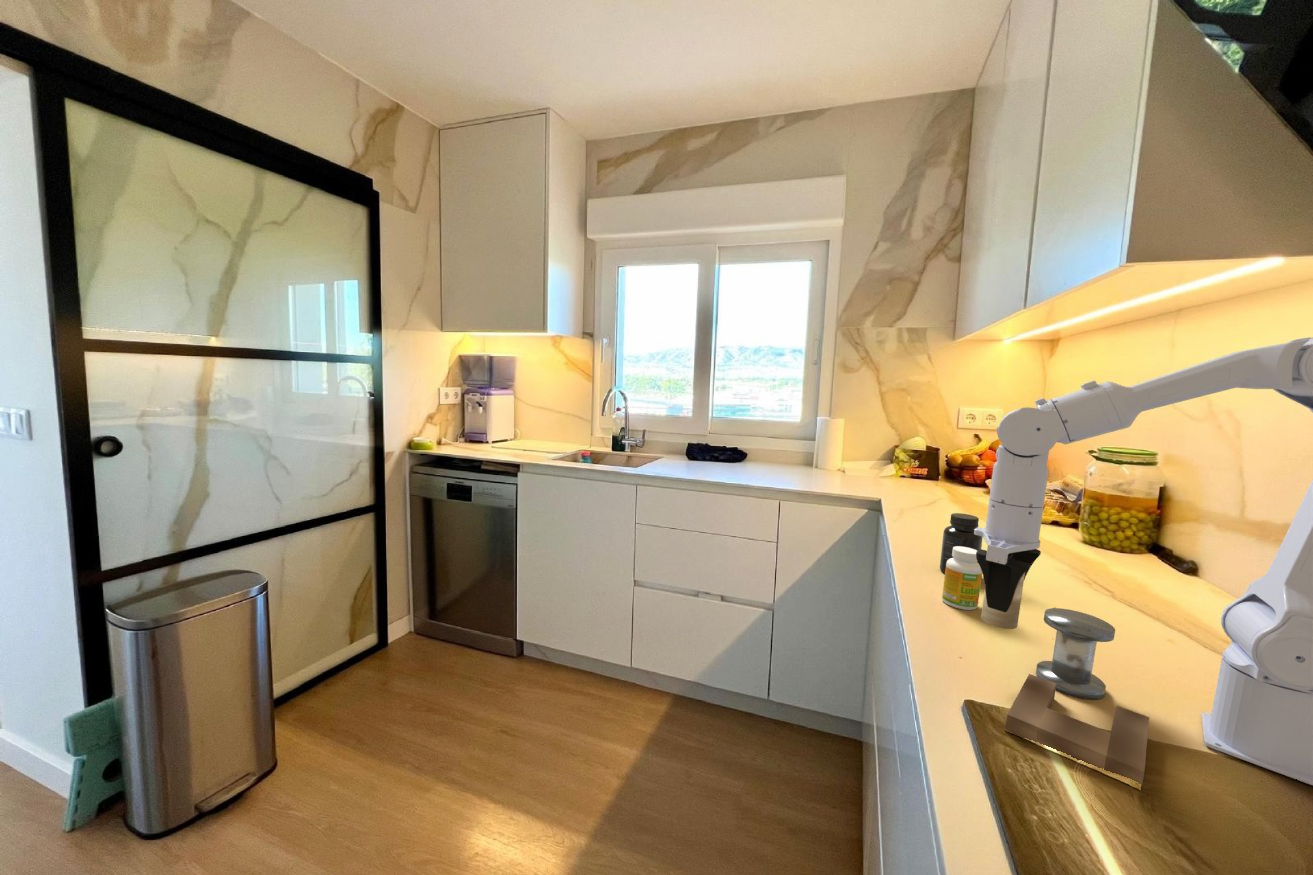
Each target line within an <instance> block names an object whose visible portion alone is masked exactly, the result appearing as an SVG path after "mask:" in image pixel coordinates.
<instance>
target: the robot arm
mask: <svg viewBox="0 0 1313 875" xmlns="http://www.w3.org/2000/svg"><path fill="white" fill-rule="evenodd" d="M1080 387H1081V389H1080V390H1079V389H1078V390H1076V391H1073V392H1069V393H1067V394H1063V395H1060V396H1057V397H1054V398H1050V399H1047V400H1046V398H1045V397H1041V398H1038V399H1035V400H1034V404H1035V406H1036V407H1031V406H1028V407H1020V408H1016V409H1013V410H1010V412H1008V413H1007V414H1005V415H1004V416H1002V419H1001V420H1000V422H999V423H998V426H997V427H996V435H997V437H998V438H997V439H998V440H999V442H1000V443H1001V444H999V445H998V448H997V449H996V453H995V459H996V461H995V463H993V468H992V474H991V476H992V477H991V482H990V483H991V484H990V491H989V499H988V506H987V507H988V508H987V514H986V522H985V528H984V527H979V526H978V528H976V529H975V530H974V534H975V535H979V536H982V537H983V538H982V539H984V542H985V543H986V546H987V548H986V549H987V550H986V549H982V548H981V549H979V550H978V551H977V552H976V559H977V561H978V563H979V565H980V568H981V570H982V577H983V582H984V583H983V584H984V591H985V592H986V600H987V605H988V607H989V608H992V609H996V610H999V611H1002V612H1007V611H1008V609H1009V607H1010V605H1011V603H1012V600H1013V597H1014V594H1015V591H1016V588H1017V585H1018V583H1019V581H1020V579H1021V577H1022V576H1023V574H1024V573H1025V576H1024V581H1025V580H1026V577H1027V575H1028V573H1029V571H1030V569H1031V567H1032V565H1033V564H1034V563H1035V561H1036V560H1037V559H1039V557H1040V556H1041V553H1042V552H1041V550H1040V549H1039V548H1040V547H1041V540H1040V534H1041V527H1042V526H1041V525H1042V518H1043V513H1044V506H1045V498H1046V492H1047V486H1048V485H1047V484H1048V477H1049V469H1048V467H1047V466H1048V461H1049V453H1050V451H1051V449H1053V448H1054V446H1055V445H1056V443H1061V444H1063V445H1070V444H1072V443H1076V442H1079V441H1080V442H1081V441H1083V440H1088V439H1091V438H1094V437H1099V436H1102V435H1105V434H1111V433H1115V432H1117V431H1120V430H1121V431H1122V430H1124V429H1128V428H1130V427H1131V426H1132V425H1133V423H1134V422H1135V420H1136V418H1137V417H1138V416H1139V415H1140V414H1141V413H1142V412H1145V411H1151V410H1154V409H1158V408H1162V407H1166V406H1169V405H1173V404H1174V405H1175V404H1177V403H1181V402H1184V401H1189V400H1193V399H1198V398H1200V397H1205V396H1208V395H1212V394H1217V393H1220V392H1224V391H1229V390H1232V389H1236V388H1237V389H1246V390H1248V389H1251V390H1273V391H1275V392H1277V393H1278V394H1280V395H1281V396H1284V397H1285V398H1287V399H1289V400H1291V401H1293V402H1295V403H1297V404H1299V405H1301V406H1303V407H1305V408H1307V409H1309V410H1310V411H1311V412H1312V413H1313V337H1303V338H1297V339H1293V340H1290V341H1287V342H1284V343H1278V344H1277V343H1276V344H1272V345H1267V346H1261V347H1257V348H1255V347H1254V348H1251V349H1245V350H1240V351H1234V352H1231V353H1228V354H1224V355H1222V356H1219V357H1215V358H1213V359H1212V358H1211V359H1210V360H1207V361H1203V362H1199V363H1198V364H1195V365H1191V366H1188V367H1186V368H1182V369H1180V370H1179V369H1178V370H1176V371H1173V372H1170V373H1166V374H1164V375H1162V376H1158V377H1155V378H1151V379H1148V380H1145V381H1143V382H1140V383H1137V384H1133V385H1131V386H1125V385H1121V384H1118V383H1115V382H1113V381H1105V382H1101V383H1097V381H1096V380H1091V381H1088V382H1085V383H1082V384H1080ZM1280 544H1281V545H1279V546H1280V547H1278V550H1277V552H1276V554H1275V556H1274V559H1273V561H1272V562H1271V564H1270V567H1269V569H1268V571H1267V573H1265V575H1262V576H1261V577H1258V578H1257V579H1254V580H1253V581H1252V582H1250V583H1249V584H1248V586H1247V589H1246V590H1245V591H1244V593H1243V594H1242V596H1240V597H1239V598H1238V599H1235V600H1234V601H1233V602H1231V603H1229V604H1228V605H1226V607H1224V609H1223V610H1222V613H1221V617H1220V624H1221V629H1223V632H1224V633H1225V635H1226V636H1227V637H1228V638H1229V639H1230V640H1231V641H1230V644H1229V646H1228V647H1227V648H1226V649H1225V650H1223V652H1222V658H1221V662H1220V667H1219V673H1218V678H1217V683H1216V687H1215V691H1214V692H1215V693H1214V698H1213V702H1212V709H1211V713H1210V712H1206V711H1205V712H1202V714H1201V719H1202V723H1201V724H1202V733H1203V743H1204V745H1205V746H1206V747H1208V748H1209V749H1210V748H1211V749H1213V750H1216V751H1219V752H1221V753H1225V754H1226V755H1229V756H1232V757H1235V758H1237V759H1240V760H1243V761H1246V762H1249V763H1251V764H1254V765H1256V766H1258V767H1262V768H1263V769H1266V770H1270V771H1272V772H1275V773H1278V774H1281V775H1282V776H1283V775H1284V776H1286V777H1288V778H1290V779H1294V780H1296V779H1297V781H1299V782H1302V783H1305V784H1307V785H1310V786H1313V479H1312V480H1311V482H1310V484H1309V486H1308V488H1307V490H1306V493H1305V495H1304V497H1303V499H1302V501H1301V503H1300V505H1299V507H1298V509H1297V512H1296V513H1295V515H1294V518H1293V519H1292V522H1290V526H1289V527H1288V530H1287V532H1286V534H1285V535H1284V538H1283V540H1282V542H1281V543H1280Z"/></svg>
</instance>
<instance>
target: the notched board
mask: <svg viewBox="0 0 1313 875" xmlns="http://www.w3.org/2000/svg"><path fill="white" fill-rule="evenodd" d="M1027 675H1028V676H1027V677H1026V679H1025V681H1024V683H1023V684H1022V686H1021V688H1020V690H1019V691H1018V694H1017V696H1016V697H1015V699H1014V701H1013V703H1012V704H1011V707H1010V709H1009V711H1008V712H1007V715H1006V721H1005V727H1004V730H1005V729H1006V730H1008V731H1010V732H1012V733H1013V734H1016V735H1017V736H1020V737H1022V738H1027V739H1029V740H1033V741H1035V742H1039V743H1040V744H1043V745H1046V746H1048V747H1051V748H1053V749H1056V750H1057V751H1061V752H1063V753H1066V754H1067V755H1071V757H1073V758H1076V759H1077V760H1082V761H1084V762H1086V763H1088V764H1092V765H1094V766H1097V767H1098V768H1102V769H1103V768H1104V770H1106V771H1110V772H1112V773H1116V774H1119V775H1121V776H1124V777H1127V778H1130V779H1132V780H1134V781H1136V782H1138V783H1139V784H1141V785H1142V786H1143V782H1144V776H1145V769H1146V760H1147V759H1146V758H1147V749H1148V748H1147V747H1148V735H1149V727H1150V726H1149V725H1150V724H1149V722H1150V716H1146V715H1145V714H1141V713H1139V712H1136V711H1134V710H1130V709H1128V708H1125V707H1123V706H1119V705H1116V706H1115V709H1114V710H1115V711H1114V716H1113V720H1112V725H1111V729H1110V731H1107V730H1105V729H1103V728H1099V727H1097V726H1094V725H1092V724H1090V723H1087V722H1084V721H1081V720H1079V719H1078V718H1077V719H1076V718H1074V717H1072V716H1069V715H1066V714H1064V713H1061V712H1059V711H1056V710H1054V709H1052V705H1053V703H1054V700H1055V697H1056V696H1055V695H1056V691H1057V690H1056V683H1054V682H1051V681H1048V680H1045V679H1042V678H1040V677H1037V675H1034V674H1031V673H1028V674H1027ZM1017 736H1016V737H1017Z"/></svg>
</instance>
